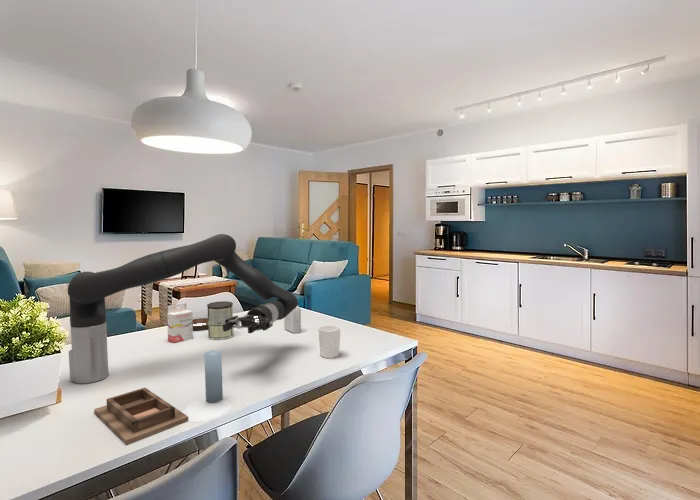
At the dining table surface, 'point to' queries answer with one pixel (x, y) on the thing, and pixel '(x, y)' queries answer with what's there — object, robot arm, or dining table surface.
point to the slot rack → (139, 415)
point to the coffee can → (219, 319)
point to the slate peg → (213, 376)
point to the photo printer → (293, 321)
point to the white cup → (329, 341)
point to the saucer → (201, 320)
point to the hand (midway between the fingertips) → (236, 329)
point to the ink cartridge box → (179, 323)
